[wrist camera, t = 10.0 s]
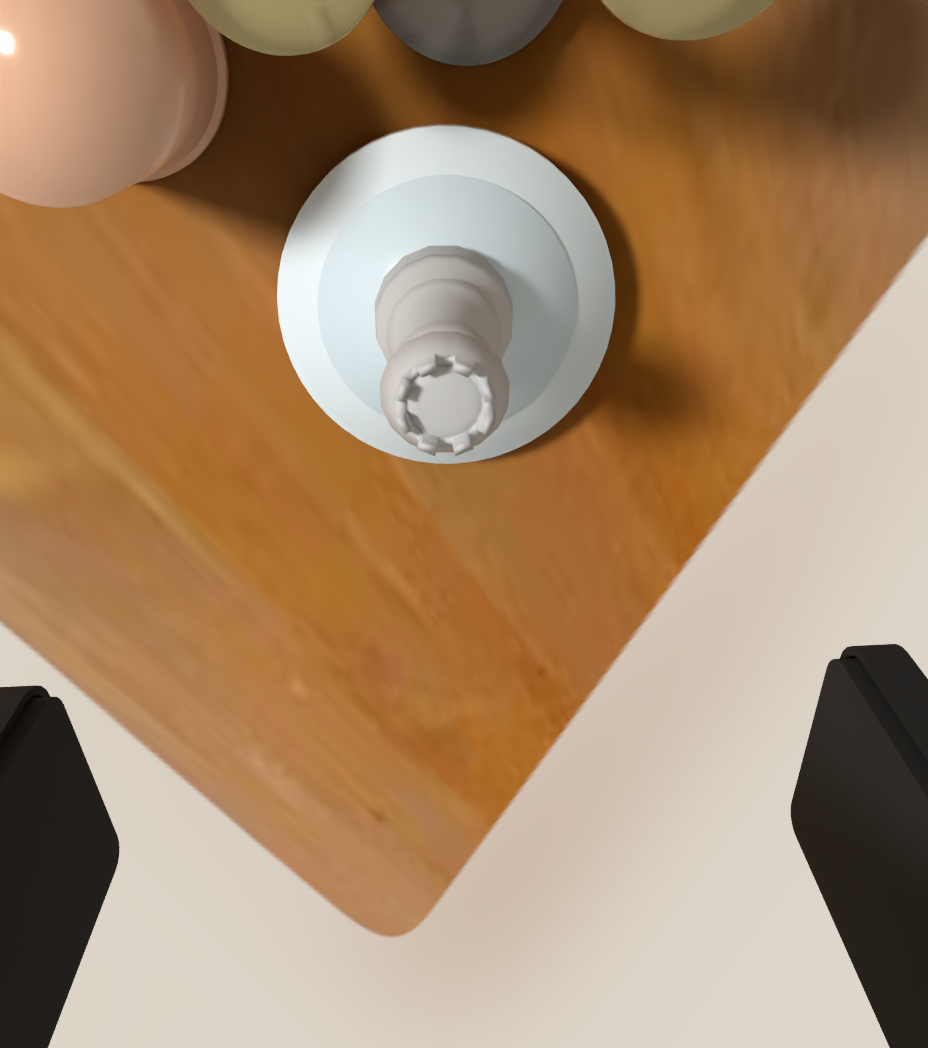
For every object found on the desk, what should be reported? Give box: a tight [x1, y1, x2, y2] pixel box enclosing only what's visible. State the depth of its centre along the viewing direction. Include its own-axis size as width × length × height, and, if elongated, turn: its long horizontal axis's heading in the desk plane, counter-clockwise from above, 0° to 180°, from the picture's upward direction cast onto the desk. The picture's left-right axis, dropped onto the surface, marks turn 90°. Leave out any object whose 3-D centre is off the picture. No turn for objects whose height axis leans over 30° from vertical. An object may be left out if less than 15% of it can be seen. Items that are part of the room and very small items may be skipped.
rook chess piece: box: [375, 245, 513, 456], centre depth 23 cm, size 4×4×8 cm
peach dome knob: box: [0, 0, 229, 208], centre depth 21 cm, size 6×6×6 cm
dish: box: [277, 123, 615, 464], centre depth 27 cm, size 11×11×1 cm
